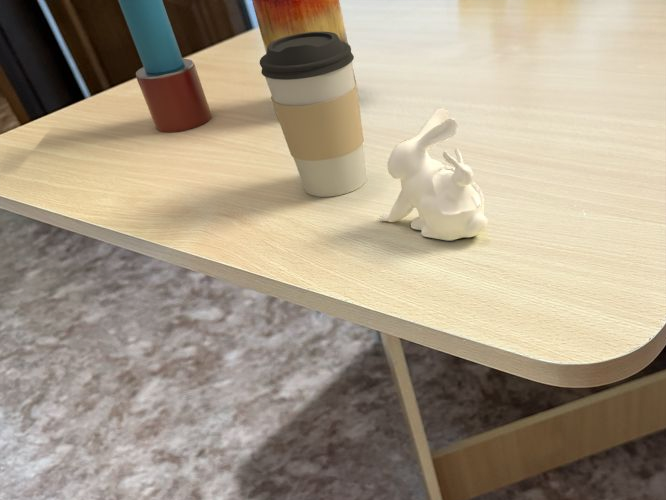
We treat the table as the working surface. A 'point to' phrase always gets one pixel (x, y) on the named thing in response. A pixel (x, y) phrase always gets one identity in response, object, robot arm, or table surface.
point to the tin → (175, 98)
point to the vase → (298, 18)
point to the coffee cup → (318, 110)
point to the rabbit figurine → (436, 185)
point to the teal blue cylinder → (152, 35)
